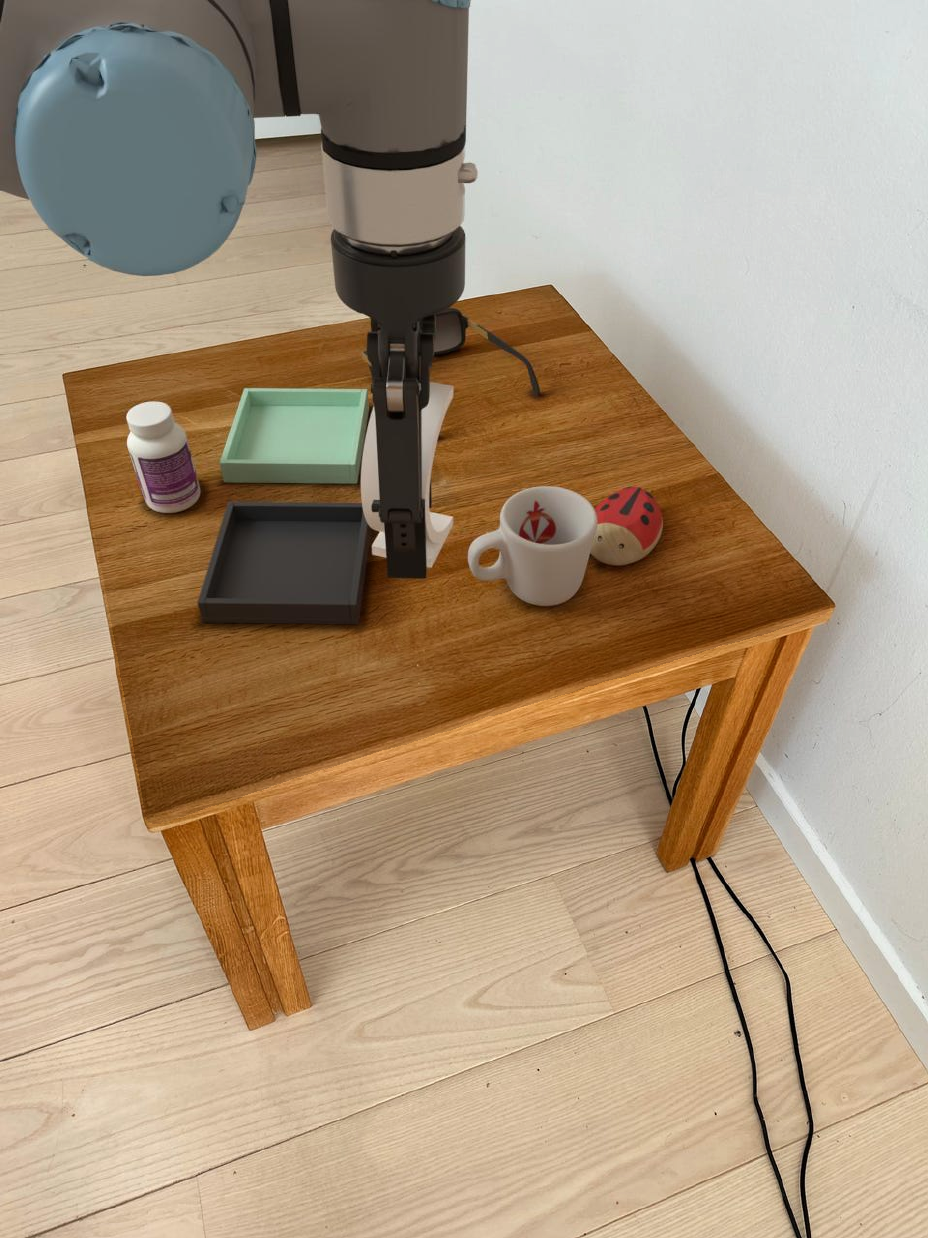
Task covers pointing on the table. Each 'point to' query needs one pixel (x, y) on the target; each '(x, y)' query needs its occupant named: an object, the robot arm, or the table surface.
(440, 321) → the sunglasses
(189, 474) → the pill bottle
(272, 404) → the mint tray
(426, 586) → the table surface
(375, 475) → the headphone stand
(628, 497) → the ladybug figurine
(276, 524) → the charcoal tray
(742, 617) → the table surface
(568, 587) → the cup
